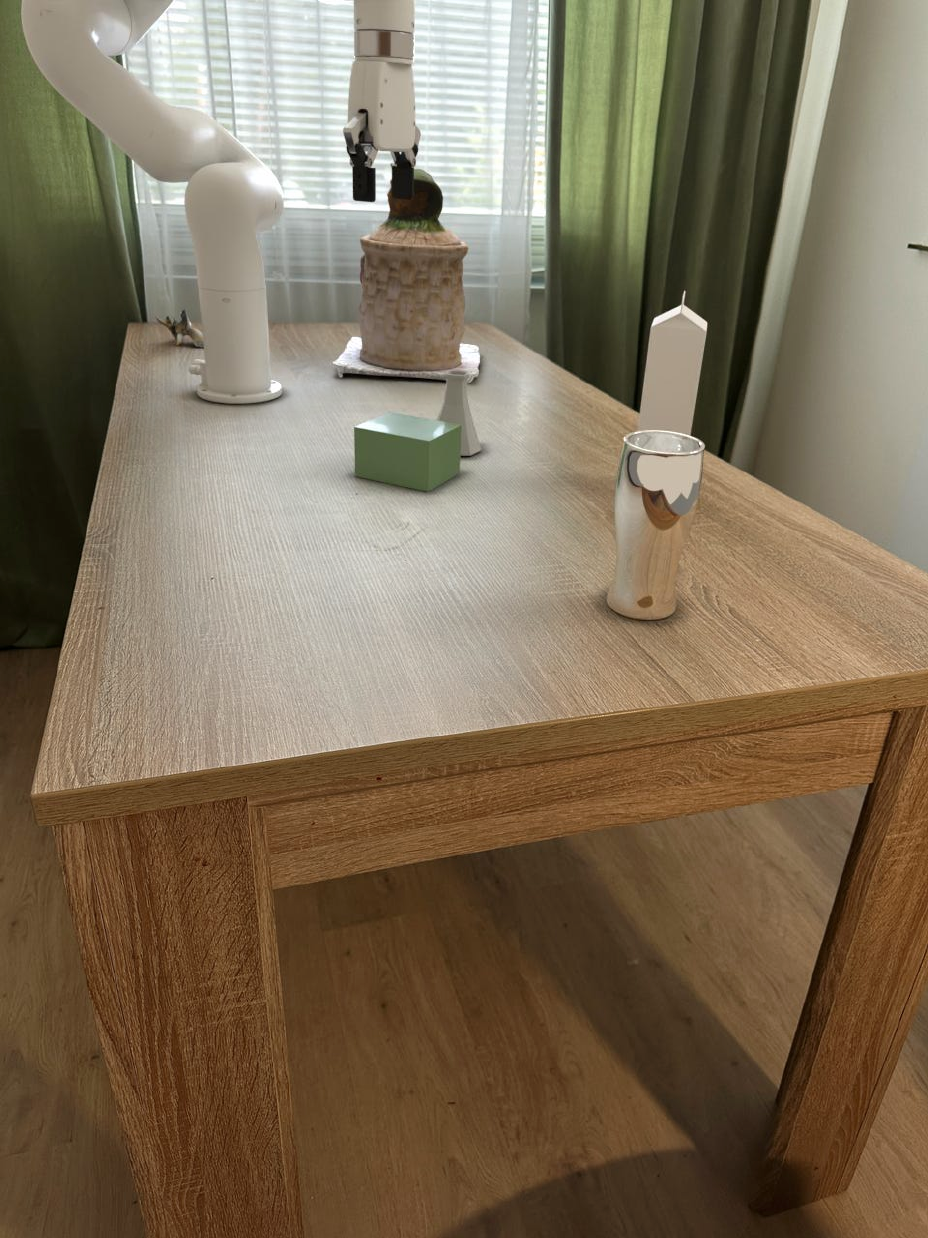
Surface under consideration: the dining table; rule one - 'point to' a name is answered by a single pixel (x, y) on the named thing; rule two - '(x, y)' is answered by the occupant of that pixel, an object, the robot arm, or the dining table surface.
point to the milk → (672, 371)
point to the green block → (407, 451)
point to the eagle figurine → (183, 329)
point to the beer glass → (653, 519)
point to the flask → (459, 410)
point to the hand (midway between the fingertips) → (384, 199)
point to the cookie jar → (411, 294)
